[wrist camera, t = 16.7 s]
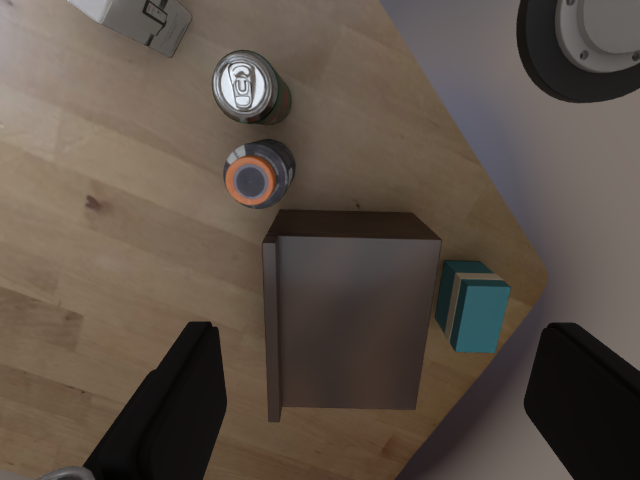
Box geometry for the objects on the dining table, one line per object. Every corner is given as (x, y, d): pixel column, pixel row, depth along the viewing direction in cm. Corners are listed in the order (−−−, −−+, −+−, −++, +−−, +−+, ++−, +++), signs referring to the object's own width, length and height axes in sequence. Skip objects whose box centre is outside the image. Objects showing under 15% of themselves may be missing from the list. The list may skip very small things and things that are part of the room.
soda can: (291, 74, 34) (275, 46, 22) (292, 125, 35) (278, 123, 24) (243, 74, 34) (203, 46, 22) (246, 125, 35) (210, 123, 24)
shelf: (412, 212, 38) (450, 247, 27) (396, 351, 45) (420, 426, 34) (279, 209, 38) (261, 242, 27) (281, 348, 45) (268, 422, 34)
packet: (480, 260, 40) (511, 286, 34) (469, 319, 43) (495, 353, 37) (443, 259, 40) (467, 285, 34) (434, 318, 43) (454, 352, 37)
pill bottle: (235, 150, 36) (199, 159, 26) (284, 131, 36) (267, 132, 25) (257, 199, 38) (231, 226, 27) (303, 181, 37) (296, 202, 27)
